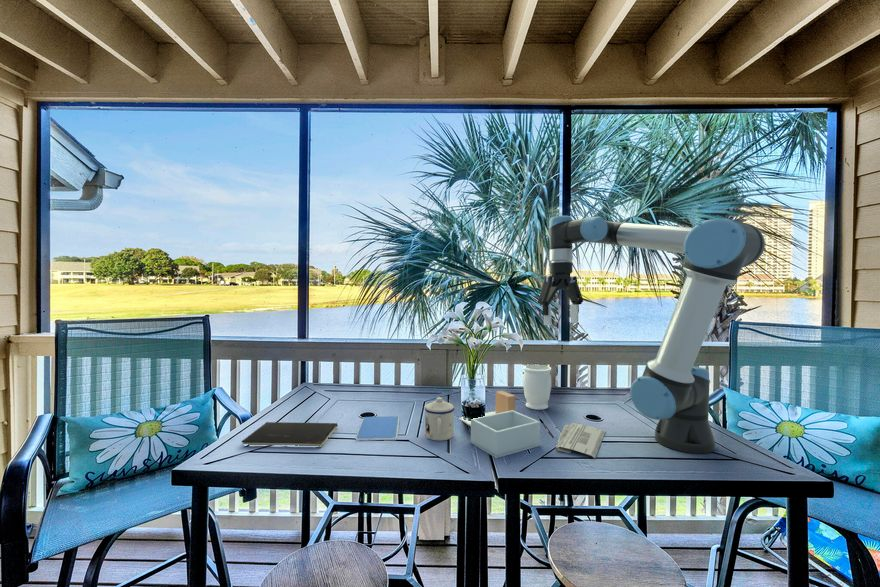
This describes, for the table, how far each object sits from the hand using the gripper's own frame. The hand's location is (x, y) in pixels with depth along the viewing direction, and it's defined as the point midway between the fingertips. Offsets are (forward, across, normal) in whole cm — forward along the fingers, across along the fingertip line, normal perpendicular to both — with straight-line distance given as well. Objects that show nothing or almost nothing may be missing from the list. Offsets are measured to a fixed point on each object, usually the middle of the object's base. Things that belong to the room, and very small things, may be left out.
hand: (561, 324), depth 138 cm
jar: (+32, -3, -14) cm, 36 cm away
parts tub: (+33, +31, +6) cm, 45 cm away
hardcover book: (+33, +82, -33) cm, 94 cm away
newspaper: (+34, +11, +15) cm, 39 cm away
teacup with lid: (+33, +44, -9) cm, 56 cm away
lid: (+33, +22, -12) cm, 41 cm away
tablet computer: (+33, +57, -25) cm, 70 cm away
